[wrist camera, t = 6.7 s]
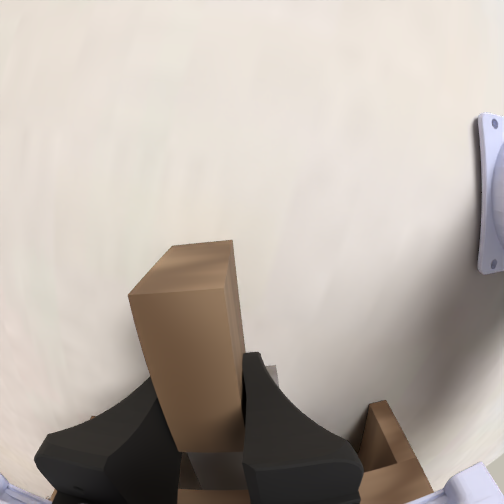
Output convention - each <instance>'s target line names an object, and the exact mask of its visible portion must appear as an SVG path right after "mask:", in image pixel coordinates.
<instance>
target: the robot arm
mask: <svg viewBox="0 0 504 504" xmlns="http://www.w3.org/2000/svg"><path fill="white" fill-rule="evenodd" d="M492 122H493V126H492ZM478 127H479V137H480V150H481V168H482V214H481V233H480V246H479V256H478V271H479V272H480V273H482V274H485V275H487V274H491V273H496V272H501V271H504V117H503V116H499V115H495V114H491V113H487V112H486V113H480V114H479V116H478ZM491 262H492V264H491ZM242 368H243V375H244V382H245V389H246V397H247V400H246V425H245V439H244V449H243V457H242V465H243V470H244V474H245V479H246V483H247V487H248V492H249V496H250V504H360V502H361V497H360V494H359V491H358V490H359V487H360V484H361V481H362V478H363V475H364V468H363V465H362V463H361V461H360V459H359V457H358V455H357V454H356V452H355V450H354V449H353V447H352V446H351V444H350V443H349V442H348V441H347V440H345V439H343V438H341V437H339V436H337V435H335V434H333V433H331V432H329V431H327V430H326V429H324V428H323V427H321V426H319V425H318V424H317V423H315V422H314V421H312V420H311V419H310V418H308V417H307V416H306V415H305V414H303V413H302V412H301V411H300V410H299V409H298V408H297V407H296V406H295V405H294V404H293V403H292V402H291V401H290V400H289V399H288V398H287V397H286V396H285V395H284V394H283V392H282V391H281V390H280V389H279V387H278V386H277V385H276V383H275V382H274V380H273V379H272V377H271V376H270V374H269V372H268V371H267V369H266V367H265V365H264V363H263V360H262V357H261V354H260V353H259V352H250V353H243V360H242ZM181 456H182V452H179V451H178V449H177V446H176V444H175V441H174V439H173V437H172V434H171V432H170V429H169V427H168V424H167V421H166V419H165V416H164V414H163V411H162V408H161V405H160V403H159V400H158V397H157V394H156V391H155V388H154V385H153V382H152V379H151V376H150V377H149V378H148V379H147V380H146V381H145V382H144V383H143V384H142V385H141V386H139V387H138V388H137V389H136V390H135V391H134V392H133V393H131V394H130V395H129V396H128V397H126V398H125V399H124V400H122V401H121V402H120V403H118V404H117V405H115V406H114V407H112V408H111V409H109V410H107V411H105V412H104V413H102V414H100V415H98V416H96V417H95V418H93V419H91V420H88V421H86V422H84V423H82V424H79V425H77V426H74V427H71V428H68V429H65V430H62V431H58V432H55V433H51V434H48V435H47V437H46V438H45V440H44V441H43V443H42V445H41V446H40V448H39V450H38V451H37V453H36V455H35V457H34V461H35V463H36V466H37V468H38V469H39V471H40V472H41V473H42V474H43V476H44V477H45V478H46V479H47V480H48V481H49V482H50V484H51V485H52V486H53V487H54V488H55V489H56V490H57V493H56V495H55V497H54V499H53V502H52V501H49V500H47V499H44V498H42V497H39V496H37V495H34V494H32V493H30V492H27V491H25V490H23V489H21V488H19V487H16V486H14V485H12V484H10V483H9V482H8V481H7V479H6V478H5V477H4V476H3V475H2V474H1V473H0V504H177V500H178V483H179V471H180V462H181ZM405 504H504V495H503V494H502V492H501V491H500V489H499V487H498V486H497V484H496V483H495V481H494V479H493V478H492V476H491V475H490V473H489V472H488V470H487V468H486V467H485V465H484V464H483V462H478V463H476V464H474V465H473V466H471V467H469V468H467V469H465V470H463V471H461V472H459V473H457V474H455V475H454V476H452V477H451V478H450V479H449V480H448V481H447V483H446V485H445V486H444V488H443V489H441V490H438V491H436V492H434V493H431V494H429V495H426V496H424V497H421V498H419V499H416V500H414V501H411V502H408V503H405Z"/></svg>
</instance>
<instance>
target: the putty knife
mask: <svg viewBox="0 0 504 504" xmlns="http://www.w3.org/2000/svg"><path fill="white" fill-rule="evenodd" d="M128 298H129V302H130V306H131V311H132V314H133V318H134V322H135V326H136V330H137V333H138V337H139V340H140V344H141V347H142V351H143V354H144V357H145V361H146V364H147V367H148V370H149V373H150V376H151V379H152V382H153V385H154V388H155V391H156V394H157V397H158V400H159V403H160V405H161V408H162V411H163V414H164V416H165V419H166V421H167V424H168V427H169V429H170V432H171V434H172V437H173V439H174V441H175V444H176V446H177V449H178V451H179V452H187V455H188V457H189V460H190V462H191V465H192V467H193V469H194V472H195V474H196V476H197V478H198V481H199V483H200V485H201V487H202V489H203V490H248V487H247V483H246V479H245V474H244V470H243V465H242V457H243V449H244V439H245V425H246V400H247V397H246V389H245V382H244V375H243V368H242V360H243V353H246V352H245V344H244V336H243V328H242V319H241V311H240V302H239V294H238V285H237V276H236V267H235V258H234V249H233V240H227V241H216V242H206V243H196V244H186V245H176V246H172V247H171V248H170V249H169V250H168V251H167V252H166V253H165V254H164V255H163V256H162V257H161V258H160V260H159V261H158V262H157V263H156V264H155V265H154V266H153V267H152V268H151V269H150V271H149V272H148V273H147V274H146V275H145V276H144V277H143V278H142V279H141V281H140V282H139V283H138V284H137V285H136V286H135V287H134V288H133V290H132V291H131V292H130V293H129V294H128ZM265 367H266V369H267V371H268V372H269V374H270V376H271V377H272V379H273V380H274V382H275V383H276V385H277V386H278V387H279V384H278V377H277V370H276V365H275V366H265Z"/></svg>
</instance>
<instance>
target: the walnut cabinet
mask: <svg viewBox="0 0 504 504" xmlns="http://www.w3.org/2000/svg"><path fill="white" fill-rule="evenodd" d="M93 418H95V416H92V417H91V419H93ZM91 419H90V420H91ZM358 457H359V459H360V461H361V463H362V465H363V468H364V475H363V478H362V481H361V484H360V487H359V490H358V491H359V494H360V497H361V502H360V504H405V503H408V502H411V501H414V500H416V499H419V498H421V497H424V496H426V495H429V494H431V493H434V491H433V489H432V487H431V485H430V483H429V481H428V479H427V477H426V475H425V473H424V471H423V469H422V467H421V465H420V463H419V461H418V459H417V457H416V455H415V454H414V452H413V450H412V448H411V446H410V444H409V442H408V440H407V438H406V436H405V434H404V433H403V431H402V429H401V427H400V425H399V423H398V421H397V420H396V418H395V416H394V414H393V412H392V410H391V409H390V407H389V405H388V403H387V401H386V400H384V401H380V402H376V403H372V404H369V409H368V415H367V419H366V424H365V429H364V433H363V438H362V442H361V446H360V450H359V454H358ZM56 493H57V490H56V489H55V490H54V492H53V494H52V496H51V498H50V501H52V502H53V499H54V497H55V495H56ZM177 504H250V496H249V492H248V490H190V489H178V500H177Z"/></svg>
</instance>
